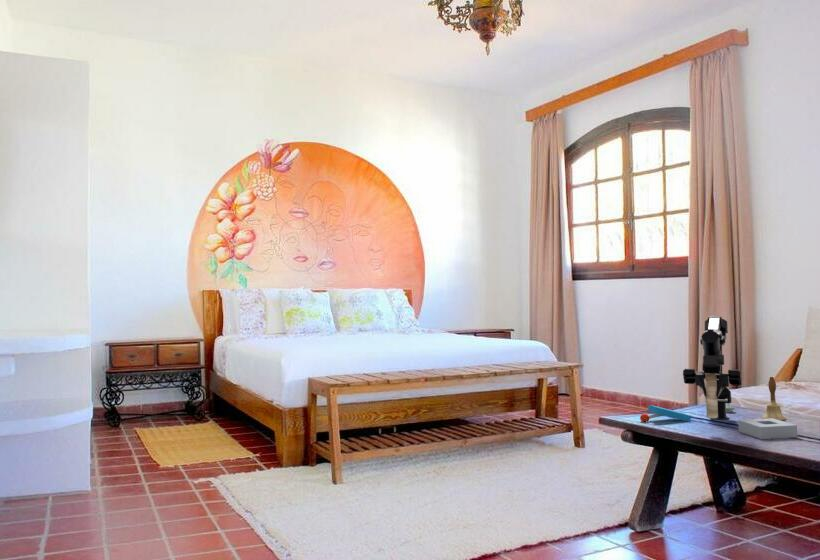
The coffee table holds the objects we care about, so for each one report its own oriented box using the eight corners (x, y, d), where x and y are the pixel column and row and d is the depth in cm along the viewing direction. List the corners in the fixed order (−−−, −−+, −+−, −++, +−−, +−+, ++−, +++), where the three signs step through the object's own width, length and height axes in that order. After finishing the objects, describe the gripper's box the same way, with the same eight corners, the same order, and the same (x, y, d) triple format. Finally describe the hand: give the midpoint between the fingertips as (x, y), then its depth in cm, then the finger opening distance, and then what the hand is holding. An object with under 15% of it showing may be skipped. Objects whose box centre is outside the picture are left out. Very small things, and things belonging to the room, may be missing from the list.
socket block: (738, 431, 244) (738, 420, 244) (773, 429, 245) (772, 418, 245) (761, 439, 231) (760, 427, 231) (797, 437, 232) (797, 425, 232)
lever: (679, 430, 271) (635, 419, 270) (683, 413, 271) (640, 402, 270) (687, 433, 264) (643, 423, 263) (691, 416, 265) (647, 405, 263)
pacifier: (721, 413, 279) (736, 413, 279) (720, 398, 279) (735, 397, 279) (715, 410, 287) (730, 409, 286) (714, 395, 287) (729, 394, 286)
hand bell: (760, 419, 264) (759, 377, 264) (763, 416, 271) (761, 375, 271) (785, 421, 259) (783, 378, 259) (787, 417, 266) (785, 376, 266)
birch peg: (705, 416, 243) (703, 373, 243) (716, 416, 242) (714, 373, 242) (708, 418, 239) (706, 375, 239) (719, 418, 239) (717, 374, 239)
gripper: (682, 346, 249) (680, 381, 239) (739, 346, 240) (740, 382, 230) (685, 365, 256) (683, 400, 246) (741, 366, 247) (741, 402, 237)
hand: (711, 396), depth 240 cm, fingers closed on birch peg, 4 cm apart
